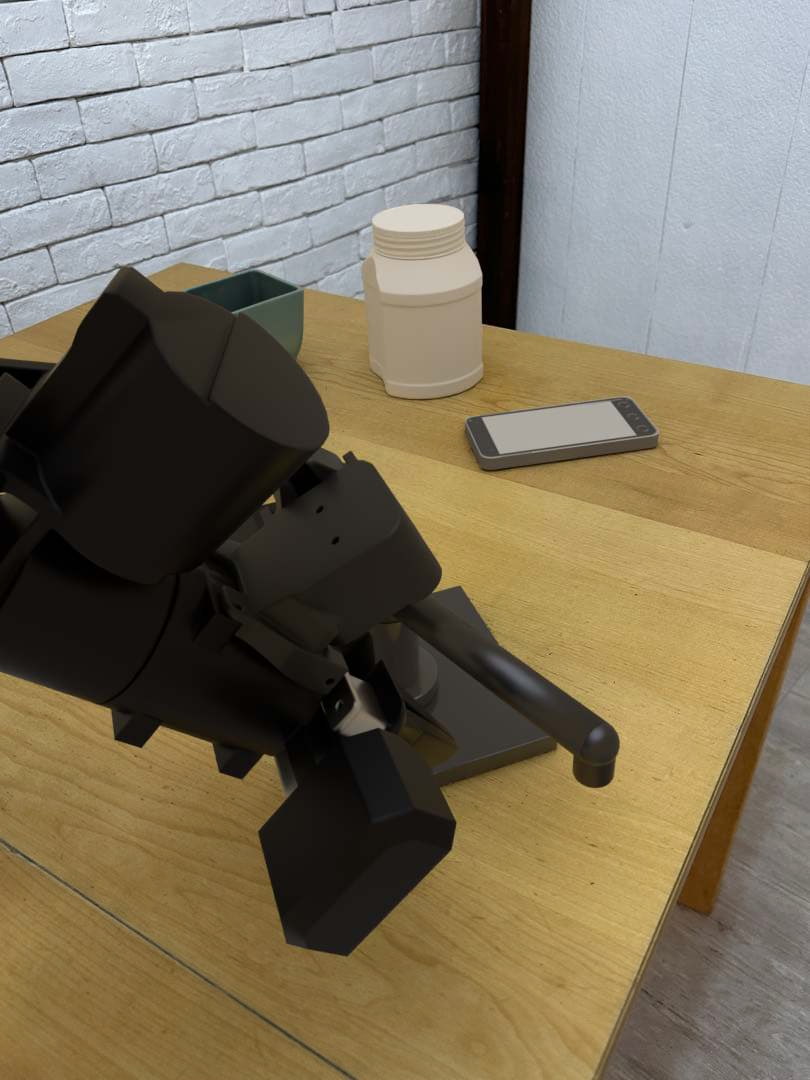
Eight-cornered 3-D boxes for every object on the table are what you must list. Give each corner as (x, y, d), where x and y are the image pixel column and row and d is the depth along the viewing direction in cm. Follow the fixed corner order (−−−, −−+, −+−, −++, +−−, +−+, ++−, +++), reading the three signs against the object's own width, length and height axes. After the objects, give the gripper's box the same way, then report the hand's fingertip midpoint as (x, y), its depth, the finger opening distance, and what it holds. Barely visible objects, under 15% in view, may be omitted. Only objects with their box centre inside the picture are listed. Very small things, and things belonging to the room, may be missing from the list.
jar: (363, 359, 92) (349, 208, 83) (451, 342, 94) (447, 193, 85) (396, 407, 83) (384, 243, 74) (493, 387, 85) (492, 226, 76)
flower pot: (317, 374, 90) (306, 286, 85) (242, 405, 85) (226, 314, 80) (267, 350, 95) (254, 266, 90) (195, 378, 91) (176, 291, 86)
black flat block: (309, 829, 46) (290, 732, 42) (254, 655, 57) (235, 564, 53) (557, 749, 49) (562, 651, 45) (460, 598, 60) (458, 509, 56)
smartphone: (662, 434, 74) (482, 459, 72) (660, 446, 74) (482, 471, 73) (629, 395, 80) (462, 417, 78) (628, 406, 80) (463, 428, 79)
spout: (338, 612, 50) (332, 570, 48) (392, 582, 51) (389, 541, 50) (580, 809, 38) (584, 764, 36) (639, 762, 40) (645, 717, 38)
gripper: (363, 615, 21) (711, 786, 30) (221, 326, 35) (484, 500, 44) (96, 925, 23) (490, 995, 32) (67, 538, 38) (345, 661, 47)
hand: (449, 749), depth 39 cm, fingers closed
